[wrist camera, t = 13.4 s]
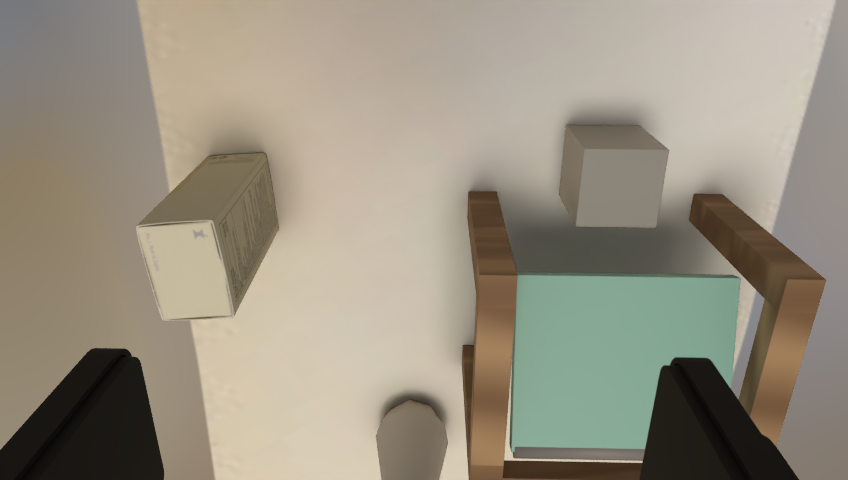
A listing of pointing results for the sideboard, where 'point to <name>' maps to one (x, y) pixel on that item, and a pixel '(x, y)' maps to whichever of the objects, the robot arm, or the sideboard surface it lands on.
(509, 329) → the frame
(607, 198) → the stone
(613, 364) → the trapdoor
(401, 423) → the salt shaker
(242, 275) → the skincare box
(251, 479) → the sideboard surface
